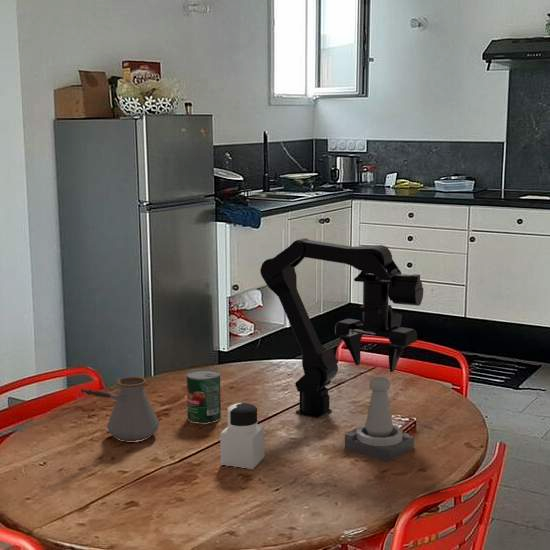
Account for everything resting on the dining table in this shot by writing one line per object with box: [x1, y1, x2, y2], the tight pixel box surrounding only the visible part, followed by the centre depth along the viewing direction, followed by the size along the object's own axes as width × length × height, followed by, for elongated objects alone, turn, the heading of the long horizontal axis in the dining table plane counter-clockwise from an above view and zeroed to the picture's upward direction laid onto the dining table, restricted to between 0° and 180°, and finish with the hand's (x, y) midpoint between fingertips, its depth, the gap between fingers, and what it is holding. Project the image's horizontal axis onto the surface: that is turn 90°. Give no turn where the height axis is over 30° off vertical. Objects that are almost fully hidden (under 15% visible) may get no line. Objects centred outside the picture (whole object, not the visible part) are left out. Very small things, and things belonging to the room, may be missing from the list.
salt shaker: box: [365, 376, 394, 438], centre depth 181 cm, size 6×6×13 cm
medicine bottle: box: [219, 402, 266, 470], centre depth 175 cm, size 7×7×12 cm
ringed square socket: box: [344, 423, 415, 463], centre depth 182 cm, size 11×10×4 cm
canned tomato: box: [186, 368, 222, 423], centre depth 201 cm, size 8×8×11 cm
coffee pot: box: [76, 376, 160, 441], centre depth 185 cm, size 21×12×15 cm, turn 147°
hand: (374, 368), depth 196 cm, fingers open, 9 cm apart
